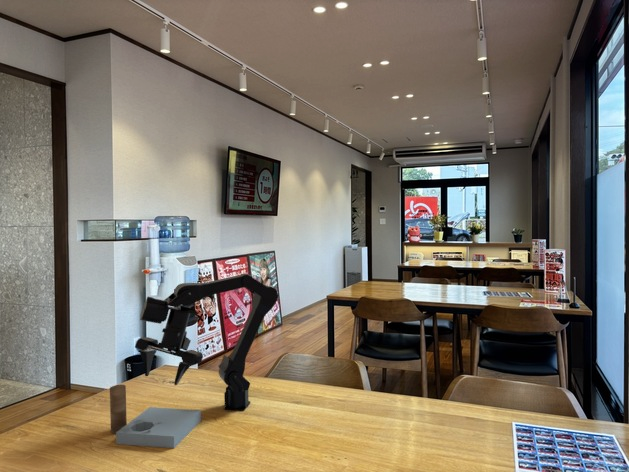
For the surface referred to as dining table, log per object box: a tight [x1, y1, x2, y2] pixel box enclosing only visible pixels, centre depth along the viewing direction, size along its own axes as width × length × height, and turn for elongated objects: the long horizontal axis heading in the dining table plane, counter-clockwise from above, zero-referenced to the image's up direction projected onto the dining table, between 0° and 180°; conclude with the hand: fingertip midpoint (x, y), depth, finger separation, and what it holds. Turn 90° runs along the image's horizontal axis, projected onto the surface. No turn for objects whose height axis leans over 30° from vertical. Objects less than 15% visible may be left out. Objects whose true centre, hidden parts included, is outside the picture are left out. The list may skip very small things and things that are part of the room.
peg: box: [109, 384, 128, 435], centre depth 120 cm, size 4×4×12 cm
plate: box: [115, 406, 202, 449], centre depth 119 cm, size 16×16×3 cm
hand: (161, 380), depth 125 cm, fingers open, 9 cm apart
